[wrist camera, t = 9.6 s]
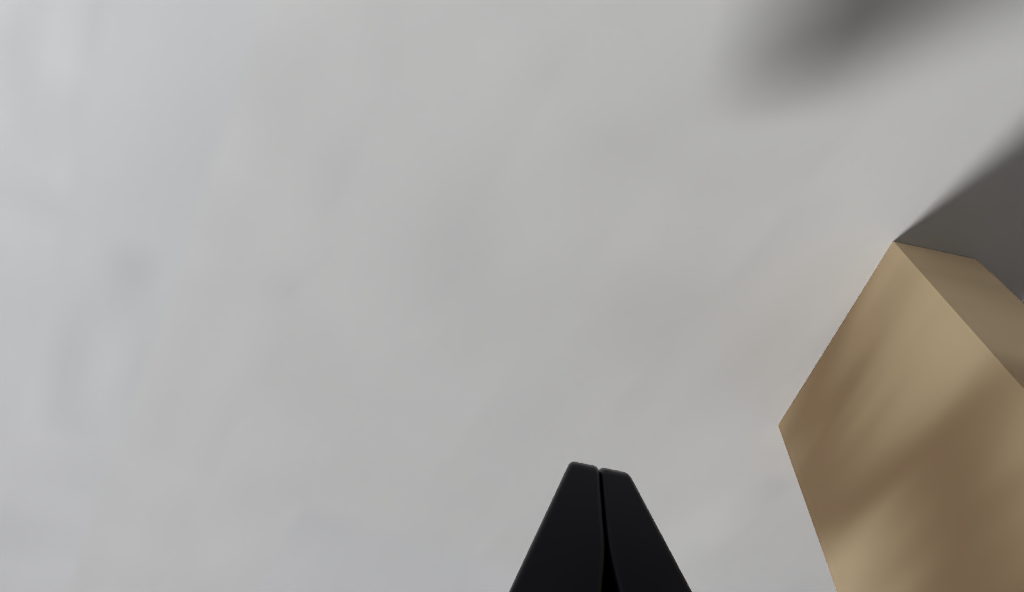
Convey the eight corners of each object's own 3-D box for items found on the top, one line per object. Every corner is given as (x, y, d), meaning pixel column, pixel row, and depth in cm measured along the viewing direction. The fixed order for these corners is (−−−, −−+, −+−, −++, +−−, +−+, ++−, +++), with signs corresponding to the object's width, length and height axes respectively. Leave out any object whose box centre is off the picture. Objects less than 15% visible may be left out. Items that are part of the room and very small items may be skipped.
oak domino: (845, 439, 14) (1025, 825, 8) (778, 425, 14) (911, 800, 8) (977, 259, 11) (1396, 650, 5) (893, 241, 11) (1222, 613, 5)
